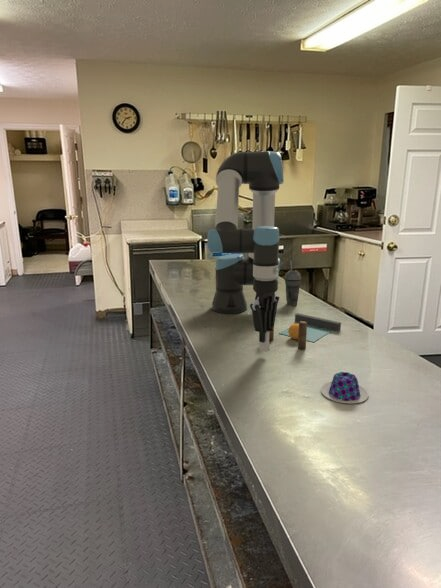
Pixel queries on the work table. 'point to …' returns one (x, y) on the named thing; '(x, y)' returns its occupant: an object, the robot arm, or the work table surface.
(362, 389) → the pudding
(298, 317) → the stopper wall
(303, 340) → the right post
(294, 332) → the ball
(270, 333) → the left post
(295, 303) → the beverage cup
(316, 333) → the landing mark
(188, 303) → the work table surface
